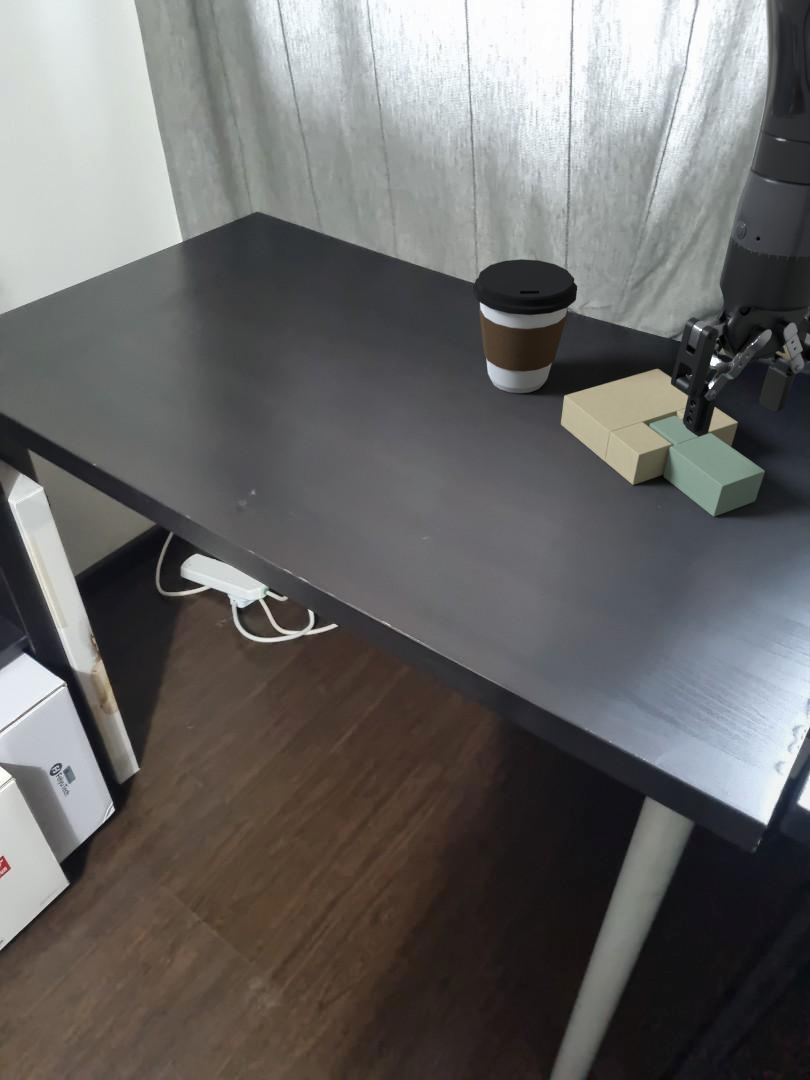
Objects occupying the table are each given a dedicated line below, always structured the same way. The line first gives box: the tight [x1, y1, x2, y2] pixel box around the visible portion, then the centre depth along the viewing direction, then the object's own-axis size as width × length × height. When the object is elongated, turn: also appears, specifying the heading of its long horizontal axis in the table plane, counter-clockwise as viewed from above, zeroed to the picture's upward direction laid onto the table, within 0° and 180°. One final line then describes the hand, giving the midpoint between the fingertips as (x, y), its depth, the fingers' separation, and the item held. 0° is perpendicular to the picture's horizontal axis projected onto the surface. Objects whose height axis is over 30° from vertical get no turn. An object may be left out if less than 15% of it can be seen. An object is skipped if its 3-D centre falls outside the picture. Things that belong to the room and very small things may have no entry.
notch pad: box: [560, 368, 739, 486], centre depth 83 cm, size 12×12×4 cm
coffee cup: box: [472, 258, 578, 394], centre depth 90 cm, size 11×11×12 cm
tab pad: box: [649, 416, 766, 518], centre depth 78 cm, size 11×5×4 cm, turn 26°
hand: (733, 419), depth 72 cm, fingers open, 8 cm apart
